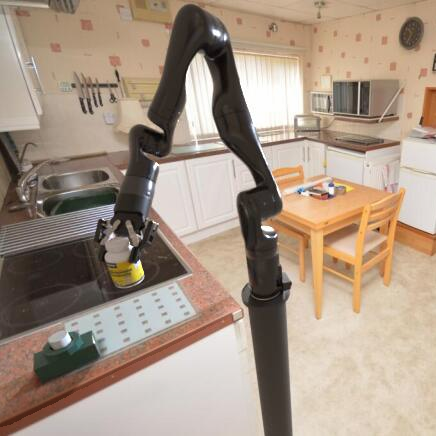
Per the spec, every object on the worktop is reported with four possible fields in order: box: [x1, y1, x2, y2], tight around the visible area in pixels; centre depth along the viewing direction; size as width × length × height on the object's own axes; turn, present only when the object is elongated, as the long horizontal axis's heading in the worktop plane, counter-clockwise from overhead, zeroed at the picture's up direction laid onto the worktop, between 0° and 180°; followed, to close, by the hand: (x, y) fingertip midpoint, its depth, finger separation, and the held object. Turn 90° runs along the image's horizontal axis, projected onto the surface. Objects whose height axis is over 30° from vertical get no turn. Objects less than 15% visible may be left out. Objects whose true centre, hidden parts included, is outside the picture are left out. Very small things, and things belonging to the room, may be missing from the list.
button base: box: [32, 329, 101, 384], centre depth 64 cm, size 10×6×6 cm, turn 131°
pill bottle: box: [105, 236, 145, 289], centre depth 71 cm, size 6×6×12 cm
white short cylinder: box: [47, 330, 72, 350], centre depth 62 cm, size 3×3×2 cm
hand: (117, 262), depth 69 cm, fingers closed on pill bottle, 6 cm apart
